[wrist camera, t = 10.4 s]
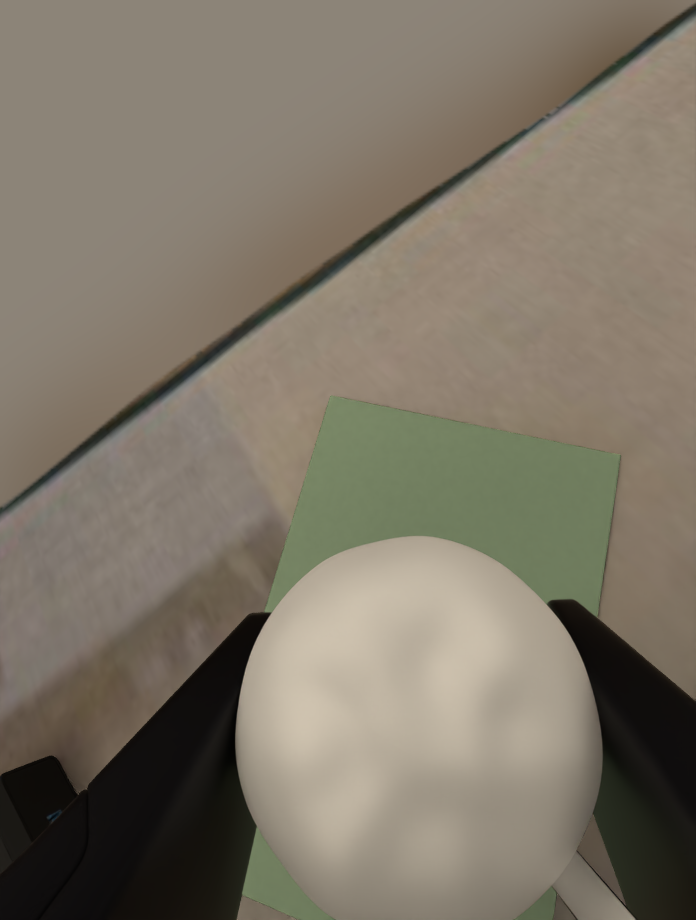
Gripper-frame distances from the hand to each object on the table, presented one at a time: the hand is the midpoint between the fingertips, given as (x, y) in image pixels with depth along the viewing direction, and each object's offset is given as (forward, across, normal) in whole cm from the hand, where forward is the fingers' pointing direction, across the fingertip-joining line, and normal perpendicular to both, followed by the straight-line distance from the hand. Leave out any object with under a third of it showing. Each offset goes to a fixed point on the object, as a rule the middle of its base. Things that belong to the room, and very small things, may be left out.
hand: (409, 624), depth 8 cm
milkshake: (+4, 0, +6) cm, 7 cm away
